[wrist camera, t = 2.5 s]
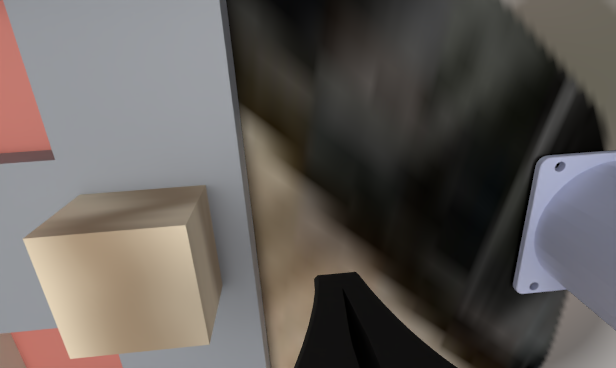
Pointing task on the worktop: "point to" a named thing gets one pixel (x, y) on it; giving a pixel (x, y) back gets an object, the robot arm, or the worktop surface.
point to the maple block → (130, 270)
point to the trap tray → (122, 155)
